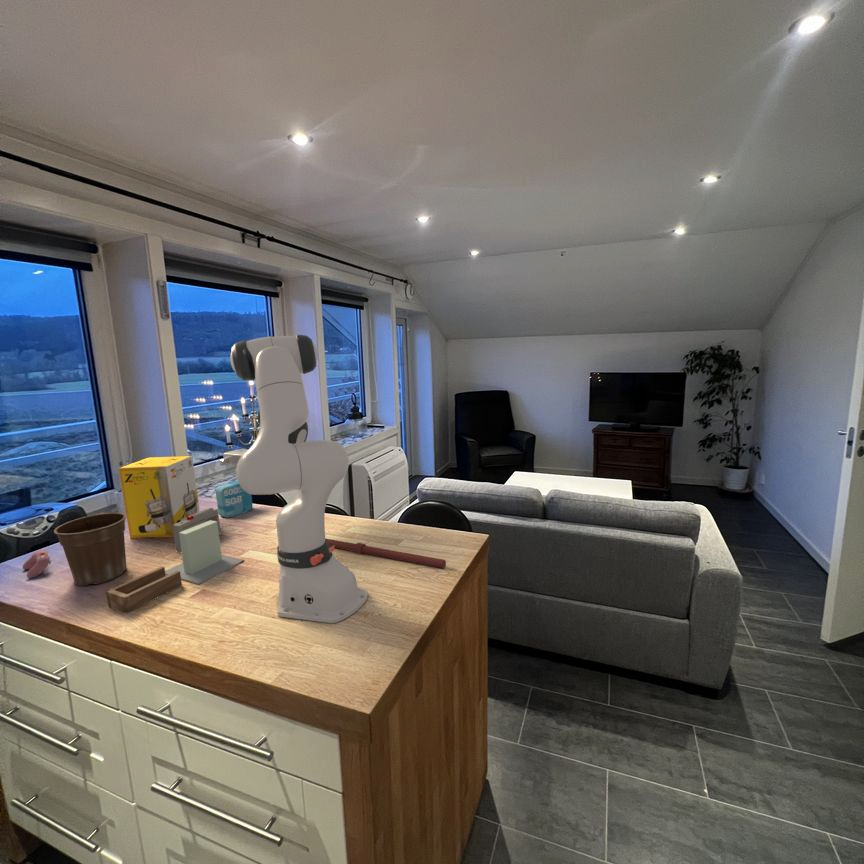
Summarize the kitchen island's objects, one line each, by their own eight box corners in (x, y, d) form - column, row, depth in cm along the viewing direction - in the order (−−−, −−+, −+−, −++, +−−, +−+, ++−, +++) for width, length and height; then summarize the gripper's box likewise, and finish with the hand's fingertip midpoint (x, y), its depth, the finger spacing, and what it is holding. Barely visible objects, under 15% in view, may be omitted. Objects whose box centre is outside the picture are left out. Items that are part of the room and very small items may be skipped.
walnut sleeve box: (182, 585, 121) (180, 571, 120) (127, 613, 108) (124, 597, 108) (163, 579, 124) (161, 566, 124) (108, 606, 112) (105, 591, 111)
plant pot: (50, 585, 124) (39, 530, 121) (109, 560, 139) (100, 510, 136) (90, 594, 118) (79, 536, 115) (147, 566, 133) (139, 514, 130)
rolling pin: (314, 547, 143) (313, 537, 142) (320, 543, 146) (319, 534, 145) (442, 571, 123) (442, 561, 123) (447, 566, 126) (446, 556, 125)
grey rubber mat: (244, 561, 134) (244, 559, 134) (198, 584, 121) (198, 583, 121) (207, 552, 141) (207, 551, 141) (161, 573, 128) (161, 572, 128)
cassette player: (182, 553, 142) (178, 522, 140) (176, 552, 143) (171, 522, 141) (220, 533, 156) (217, 506, 155) (214, 533, 157) (211, 505, 155)
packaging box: (176, 536, 155) (166, 466, 151) (130, 538, 155) (118, 468, 151) (200, 519, 171) (192, 455, 167) (158, 521, 171) (149, 457, 167)
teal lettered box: (224, 519, 171) (221, 488, 169) (218, 517, 173) (214, 487, 171) (253, 509, 180) (250, 480, 178) (246, 507, 183) (243, 479, 181)
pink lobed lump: (45, 579, 131) (55, 555, 132) (25, 578, 127) (35, 554, 128) (39, 570, 137) (49, 547, 138) (20, 568, 134) (30, 545, 135)
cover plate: (222, 559, 135) (217, 521, 133) (191, 574, 126) (185, 534, 124) (215, 557, 136) (210, 520, 134) (184, 572, 127) (178, 532, 125)
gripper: (243, 443, 154) (207, 451, 142) (287, 446, 145) (254, 455, 133) (245, 461, 155) (210, 471, 143) (289, 465, 146) (256, 476, 134)
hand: (231, 463), depth 138 cm, fingers open, 8 cm apart
